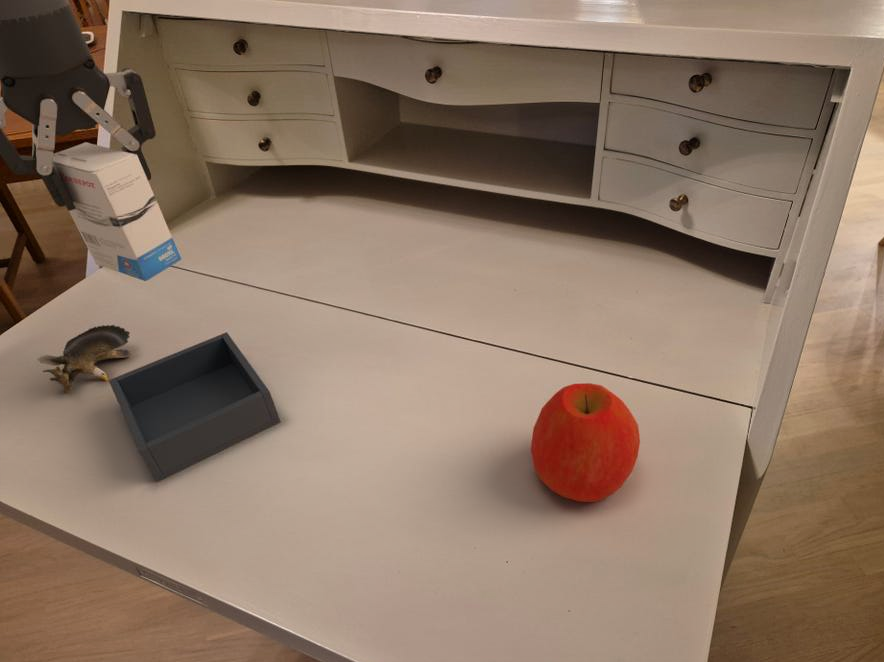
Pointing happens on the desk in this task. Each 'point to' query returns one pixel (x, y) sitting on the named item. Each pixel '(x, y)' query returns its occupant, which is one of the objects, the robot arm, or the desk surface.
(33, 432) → the desk surface
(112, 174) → the ink box
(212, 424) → the tote
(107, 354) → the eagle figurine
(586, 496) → the apple
